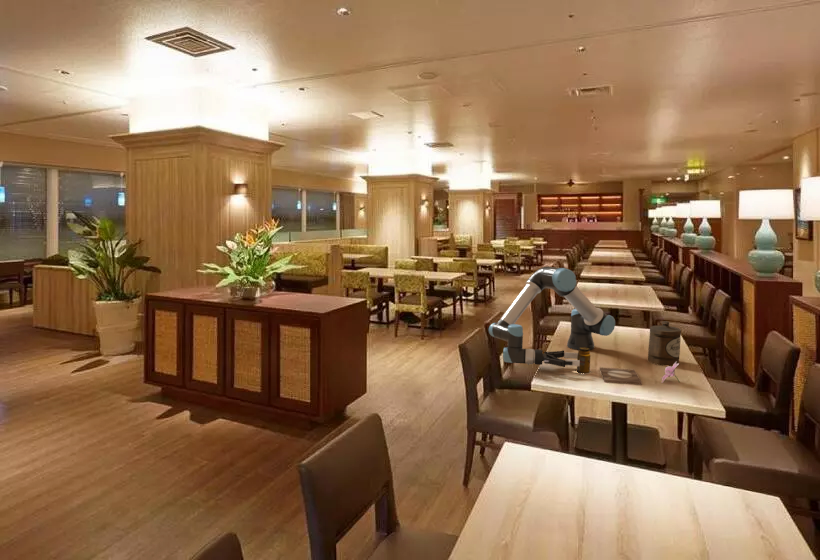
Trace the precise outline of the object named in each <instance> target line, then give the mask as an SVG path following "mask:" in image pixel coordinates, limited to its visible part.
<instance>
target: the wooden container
mask: <svg viewBox="0 0 820 560" xmlns="http://www.w3.org/2000/svg"><path fill="white" fill-rule="evenodd" d="M661 324H662V325H652V326H650V328H649V338H648V340H649V341H648V350H647V351H648V352H647V361H648V362H650V363H651V364H654V365H657V364H658V366H663V365H669V366H670V365H671V367H672V365H673V364H674V363H675V362H676V364H678V363H679V364H680V355H681V336H682V330H681V328H679V327H676V326H670V322H669V321H667V320H664V321H662V322H661Z"/></svg>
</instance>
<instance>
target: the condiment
mask: <svg viewBox="0 0 820 560" xmlns="http://www.w3.org/2000/svg"><path fill="white" fill-rule="evenodd" d="M577 351H578V352H577V353H578V357H577V359H576V360H580V366H576V370H577V372H578V373H579V374H578V375H581V376H583V375H587V374H592V373H594V372H593V371H592V370H590V369H591V352H590V351H591V350H590V349H589V348H587V347H580V348H579V350H577ZM581 373H582V374H581ZM583 373H584V374H583Z"/></svg>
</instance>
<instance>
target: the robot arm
mask: <svg viewBox="0 0 820 560" xmlns="http://www.w3.org/2000/svg"><path fill="white" fill-rule="evenodd" d="M576 278H577V276H576V274H575V273H574V272H573V270H571V269H568V268H565V267H556V266H555V267H554V266H547V265H546V266H542V267H540V268H539V269H537V270H536V271H534V272H533V273H532V274H531V275H530V276H529V278H528V279H527V280H526V281H525V286H524V287H523V288H522V289H521V291H520V292H519V294H518V295H517V296H516V298H515V299H513V302H511V304H510V306H509V307H508V308H507V309H506V310H505V312H504V313H503V314H502V316H501V317H500V319H499V320H498V321H497V322H493V323H491V324H490V325H489V327H488V333H489V335H490V336H491V337H493V338H495V339H499V340H502V341H505V342H507V346H506V347H503V351H502V353H503V354H502V357H503V358H502V359H503V362H504V363H509V364H525V365H528V366H529V365H533V364H534V365H541V366H542V365H543V363H544V364H546V365H548V364H549V365H553V366H558V367H563V368H566V366H569V367H571V366H572V367H577V366H580V360H577V357H578V352H567V351H565V350H555V351H554V350H553V351H544V350H543V349H534V348H523V345H524V344H523V340H524V329H523V326H522V325H521V324H517V323H516V322H517V321H518V320H519V318H520V317H521V316H522V314H523V313H524V312H525V310H526V309H527V308H528V307H529V305H530V304H531V303H532V301H533V300H534V299H535V298H536V296H537V295H538V294H541V292H542V291H543V290H545V289H551V290H552V291H554V292H555V294H557V296H559V297H563V298H565V300H566V301H568V303H570V305H571V306H572V307H573V309H572V310H571V314H570V334H569V337H568V340H567V342H566V347H567V346H568V347H567V348H569V349H571V348H572V349H571V350H576V349H577V350H576V351H579V348H580V347H587V348H589V349H590V351H592V350H594V349H595V342H594V340H593V334H596V335H599V336H604V337H605V336H610V335H611V334H612V333H613V332H614V329H615V326H616V320H615V318H614V316H612V315H610V314H607V313H605V312H604V310H603V309H602V308H600V307H596V306H595V304H594V303H593V302H592V301H591V300H590V299H589V298H588V297H587V296H586V294H585V293H583V292H582V290H581V289H580V288H579V287H578V286H577V279H576ZM543 351H544V353H543ZM562 358H565V359H562Z"/></svg>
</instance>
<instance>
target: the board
mask: <svg viewBox="0 0 820 560" xmlns="http://www.w3.org/2000/svg"><path fill="white" fill-rule="evenodd" d="M599 372H600V374H601V377H602V379H603V381H604V383H614V384H628V385H640V386H641V385H642V383H643V381H642V380H641V379H640V377H639V376H638V373H637V372H636V370H635V369H633V368H614V367H603V366H602V367H601V366H600V367H599Z"/></svg>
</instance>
